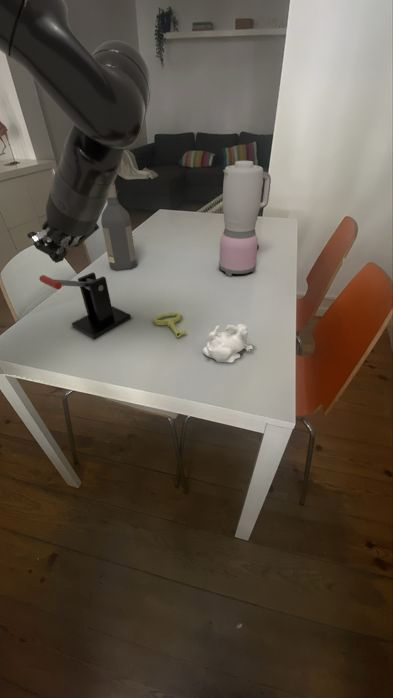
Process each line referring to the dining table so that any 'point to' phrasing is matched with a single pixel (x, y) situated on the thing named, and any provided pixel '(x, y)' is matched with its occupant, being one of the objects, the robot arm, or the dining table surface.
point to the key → (170, 322)
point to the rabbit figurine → (227, 343)
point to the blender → (241, 216)
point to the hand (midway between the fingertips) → (55, 257)
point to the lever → (64, 282)
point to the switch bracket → (98, 309)
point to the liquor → (118, 234)
